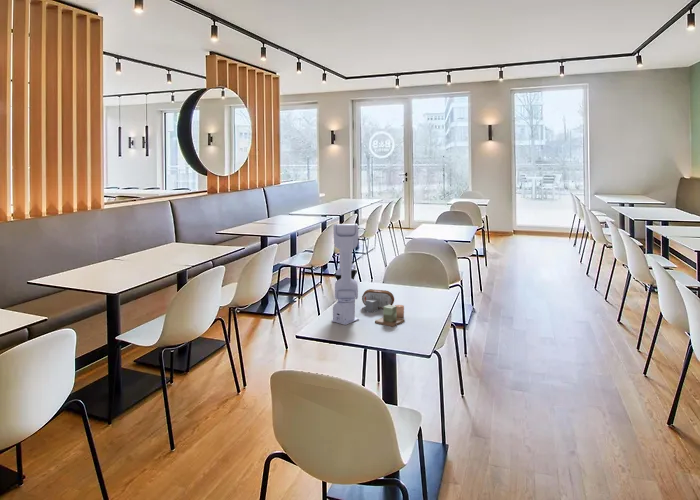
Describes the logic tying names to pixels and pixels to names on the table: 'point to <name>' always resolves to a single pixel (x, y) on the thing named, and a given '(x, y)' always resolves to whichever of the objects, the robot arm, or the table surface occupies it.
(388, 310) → the green block
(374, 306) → the grey block
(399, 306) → the peach rounded capsule
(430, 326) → the table surface
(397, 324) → the walnut board
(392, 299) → the tin
